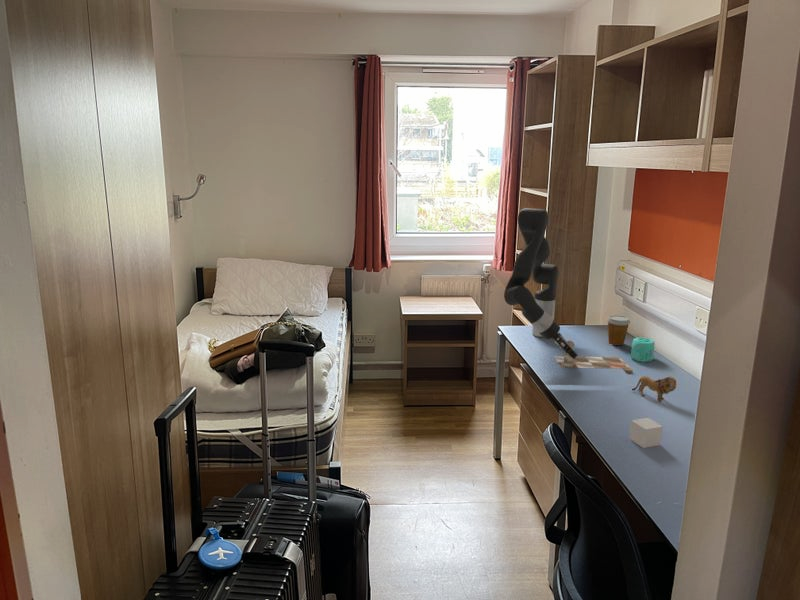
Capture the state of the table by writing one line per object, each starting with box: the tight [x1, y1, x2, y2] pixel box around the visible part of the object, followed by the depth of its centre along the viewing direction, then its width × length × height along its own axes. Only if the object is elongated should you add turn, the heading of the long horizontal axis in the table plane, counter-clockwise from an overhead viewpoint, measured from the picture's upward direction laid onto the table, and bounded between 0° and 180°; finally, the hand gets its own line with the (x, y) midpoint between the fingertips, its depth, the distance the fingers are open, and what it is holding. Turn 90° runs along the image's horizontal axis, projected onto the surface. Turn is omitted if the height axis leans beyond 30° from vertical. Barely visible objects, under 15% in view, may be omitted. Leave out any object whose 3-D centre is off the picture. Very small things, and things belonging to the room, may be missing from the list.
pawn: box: [562, 339, 575, 367], centre depth 229 cm, size 5×5×10 cm
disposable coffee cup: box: [606, 314, 631, 347], centre depth 259 cm, size 10×10×12 cm
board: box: [553, 355, 633, 374], centre depth 233 cm, size 15×28×1 cm, turn 89°
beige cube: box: [629, 417, 663, 449], centre depth 172 cm, size 6×6×6 cm
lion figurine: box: [631, 376, 677, 403], centre depth 203 cm, size 15×5×9 cm, turn 46°
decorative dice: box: [630, 337, 655, 363], centre depth 241 cm, size 8×8×8 cm
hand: (573, 355), depth 229 cm, fingers closed on pawn, 3 cm apart
